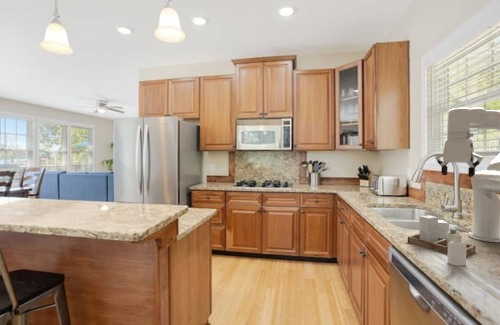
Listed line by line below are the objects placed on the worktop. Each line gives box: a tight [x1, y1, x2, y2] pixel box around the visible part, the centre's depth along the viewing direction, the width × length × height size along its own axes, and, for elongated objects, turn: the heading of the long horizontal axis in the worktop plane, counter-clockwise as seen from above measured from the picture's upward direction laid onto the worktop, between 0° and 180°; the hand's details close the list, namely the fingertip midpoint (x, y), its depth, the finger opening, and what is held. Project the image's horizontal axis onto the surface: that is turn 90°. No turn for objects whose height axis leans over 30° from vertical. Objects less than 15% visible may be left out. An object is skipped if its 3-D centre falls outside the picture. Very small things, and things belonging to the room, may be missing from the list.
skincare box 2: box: [438, 219, 450, 239], centre depth 126 cm, size 6×6×7 cm
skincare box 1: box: [419, 215, 439, 243], centre depth 116 cm, size 6×4×12 cm
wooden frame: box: [407, 232, 476, 257], centre depth 111 cm, size 12×20×2 cm, turn 30°
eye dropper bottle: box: [447, 230, 467, 267], centre depth 94 cm, size 4×6×12 cm
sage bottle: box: [446, 228, 462, 247], centre depth 107 cm, size 4×4×9 cm
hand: (457, 175), depth 115 cm, fingers open, 9 cm apart
